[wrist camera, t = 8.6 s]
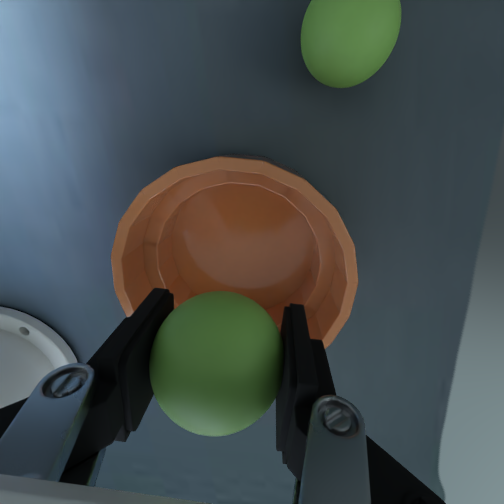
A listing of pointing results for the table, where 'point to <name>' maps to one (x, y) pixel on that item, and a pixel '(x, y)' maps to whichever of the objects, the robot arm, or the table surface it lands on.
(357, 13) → the pea ball
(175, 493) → the table surface
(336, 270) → the bowl
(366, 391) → the table surface
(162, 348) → the pea ball
